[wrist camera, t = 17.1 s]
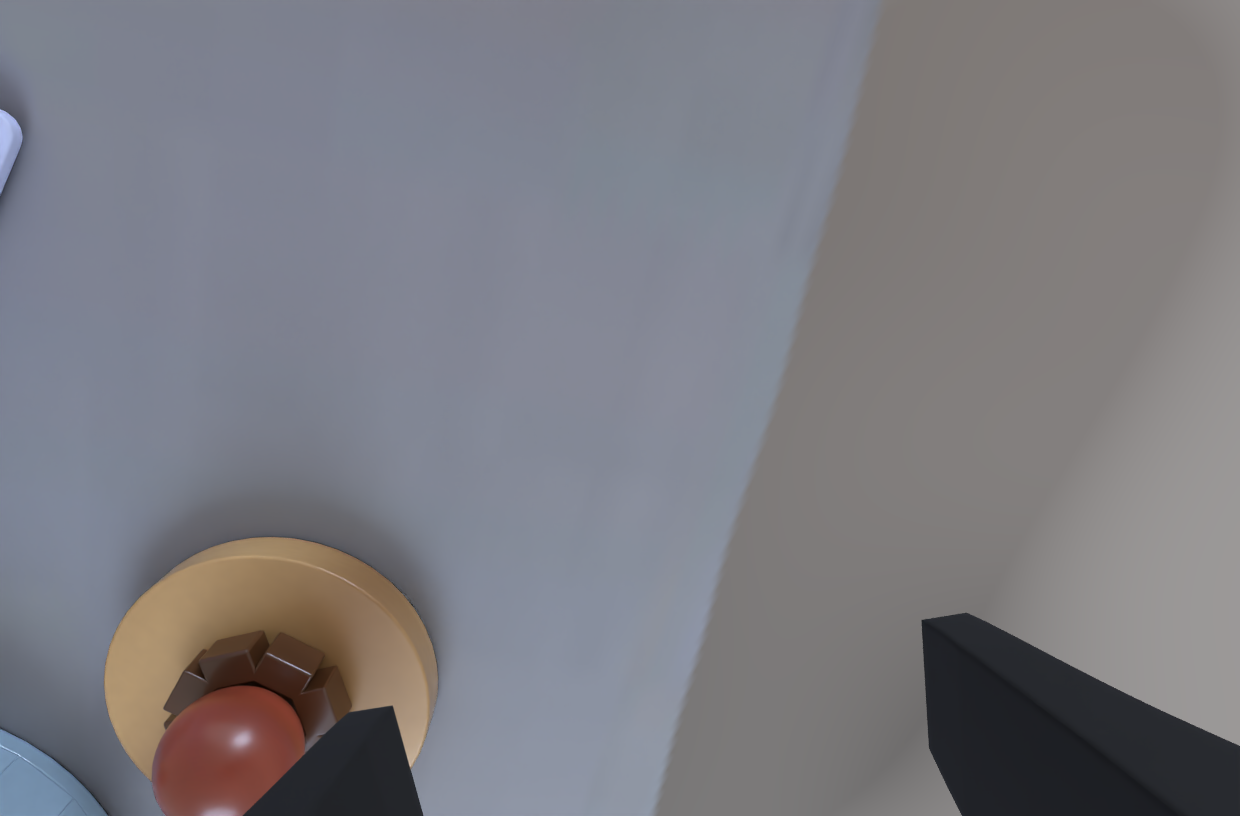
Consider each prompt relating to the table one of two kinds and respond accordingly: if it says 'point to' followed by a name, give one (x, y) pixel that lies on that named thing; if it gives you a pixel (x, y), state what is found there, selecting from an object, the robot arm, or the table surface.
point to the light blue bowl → (39, 784)
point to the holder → (270, 642)
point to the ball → (225, 752)
